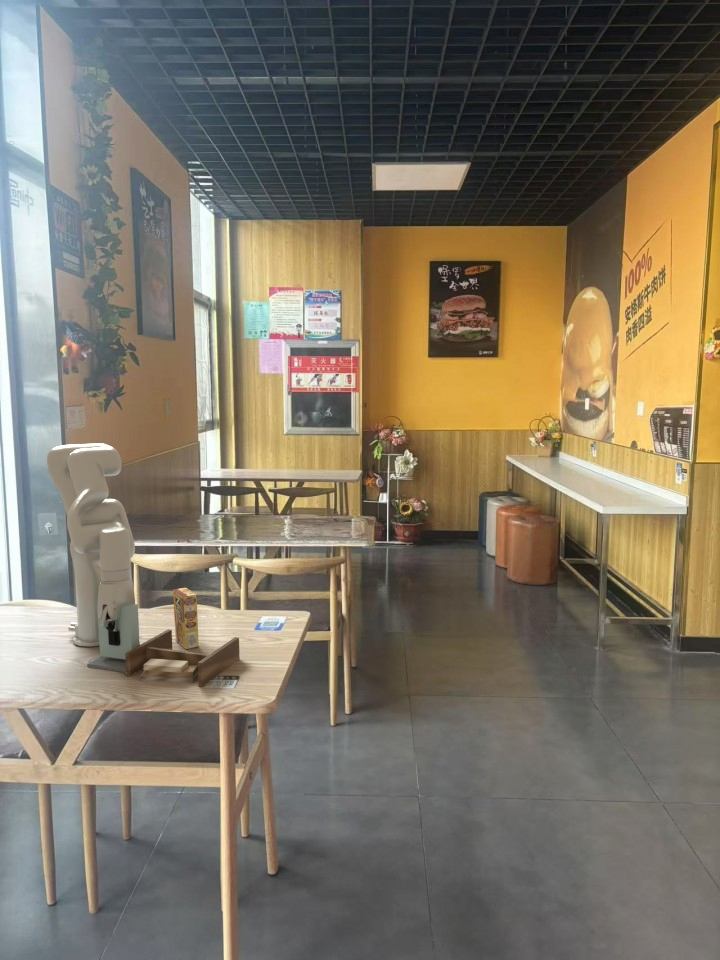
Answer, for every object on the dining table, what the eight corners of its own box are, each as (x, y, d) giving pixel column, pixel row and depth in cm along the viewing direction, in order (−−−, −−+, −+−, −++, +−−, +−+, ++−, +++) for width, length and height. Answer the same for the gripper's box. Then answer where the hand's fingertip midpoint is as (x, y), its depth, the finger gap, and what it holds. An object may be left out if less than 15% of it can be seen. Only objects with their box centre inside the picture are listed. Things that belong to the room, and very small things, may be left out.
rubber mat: (87, 666, 188) (87, 663, 188) (111, 653, 198) (111, 650, 198) (129, 672, 184) (129, 669, 184) (152, 658, 194) (152, 656, 194)
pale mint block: (99, 656, 191) (97, 604, 189) (108, 651, 194) (105, 601, 192) (132, 660, 187) (129, 608, 186) (140, 655, 191) (137, 604, 189)
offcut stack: (139, 681, 180) (138, 665, 179) (147, 673, 185) (147, 657, 184) (192, 684, 178) (192, 668, 177) (200, 675, 183) (199, 660, 182)
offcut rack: (126, 675, 182) (125, 653, 181) (168, 650, 200) (167, 629, 199) (202, 686, 175) (201, 663, 174) (239, 659, 193) (239, 637, 192)
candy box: (199, 647, 203) (197, 594, 201) (185, 650, 200) (183, 596, 198) (188, 638, 210) (186, 587, 208) (174, 640, 208) (172, 589, 206)
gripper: (123, 566, 197) (126, 631, 199) (82, 581, 181) (86, 651, 184) (147, 568, 195) (150, 634, 197) (107, 583, 179) (111, 654, 181)
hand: (119, 641), depth 190 cm, fingers closed on pale mint block, 3 cm apart
